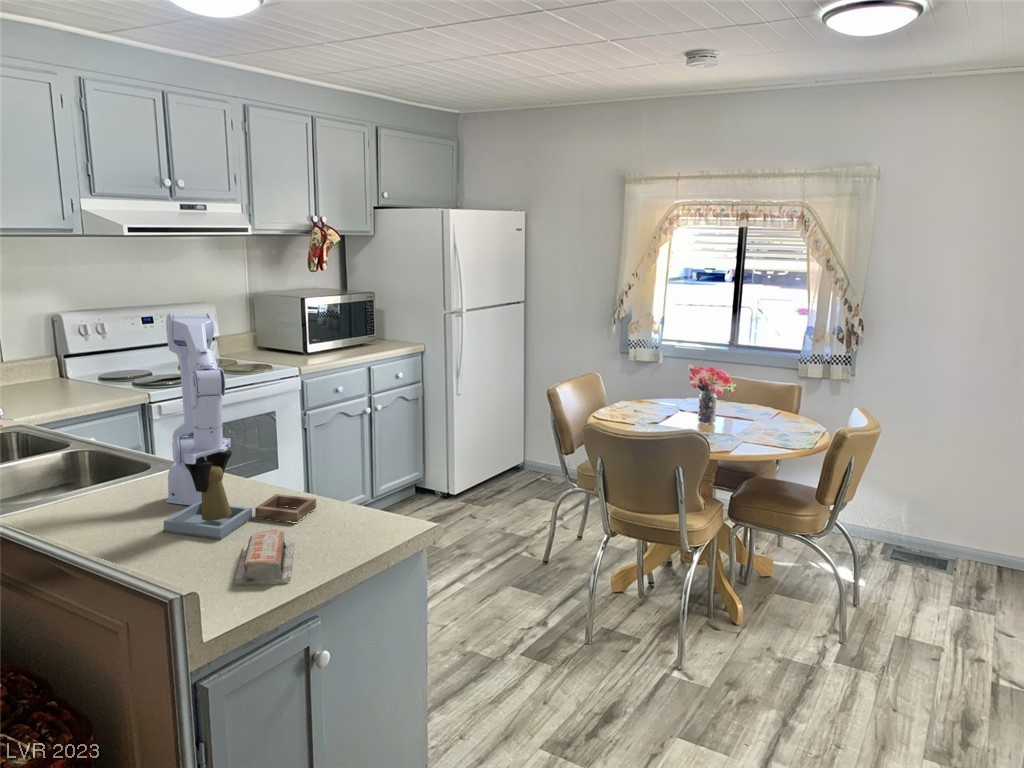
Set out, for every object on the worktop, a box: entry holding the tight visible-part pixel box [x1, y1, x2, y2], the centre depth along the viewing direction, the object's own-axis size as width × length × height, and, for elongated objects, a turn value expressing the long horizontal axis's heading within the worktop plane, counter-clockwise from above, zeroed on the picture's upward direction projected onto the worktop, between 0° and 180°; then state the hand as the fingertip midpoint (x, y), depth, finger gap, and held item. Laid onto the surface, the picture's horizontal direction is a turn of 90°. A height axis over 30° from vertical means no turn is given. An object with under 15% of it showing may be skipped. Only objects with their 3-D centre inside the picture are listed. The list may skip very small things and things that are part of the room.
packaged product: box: [234, 528, 296, 586], centre depth 153 cm, size 18×5×10 cm
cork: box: [202, 466, 231, 521], centre depth 169 cm, size 6×6×11 cm
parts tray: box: [163, 501, 253, 541], centre depth 170 cm, size 13×13×2 cm
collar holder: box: [254, 493, 317, 522], centre depth 180 cm, size 10×10×2 cm
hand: (208, 487), depth 169 cm, fingers closed on cork, 5 cm apart
